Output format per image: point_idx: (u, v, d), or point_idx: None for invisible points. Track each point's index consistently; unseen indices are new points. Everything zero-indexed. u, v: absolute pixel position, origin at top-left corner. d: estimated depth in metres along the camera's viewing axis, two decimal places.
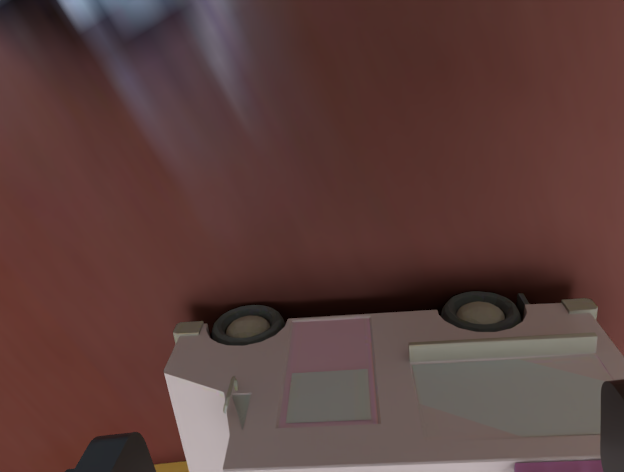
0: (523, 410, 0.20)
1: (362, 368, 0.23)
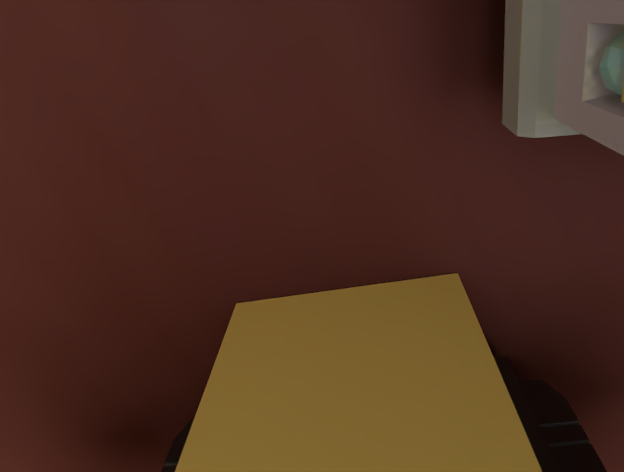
0: None
1: None
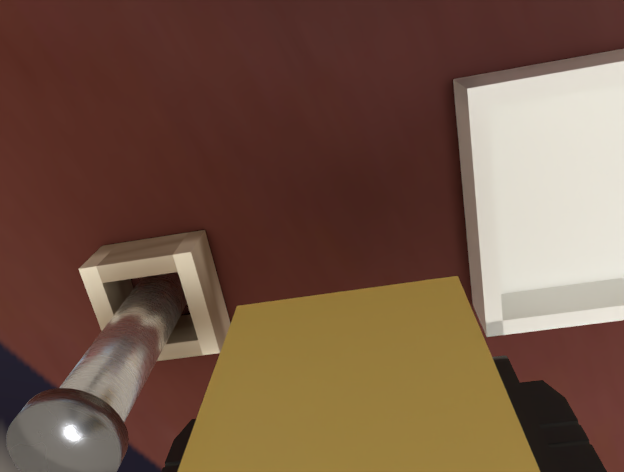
0: None
1: None
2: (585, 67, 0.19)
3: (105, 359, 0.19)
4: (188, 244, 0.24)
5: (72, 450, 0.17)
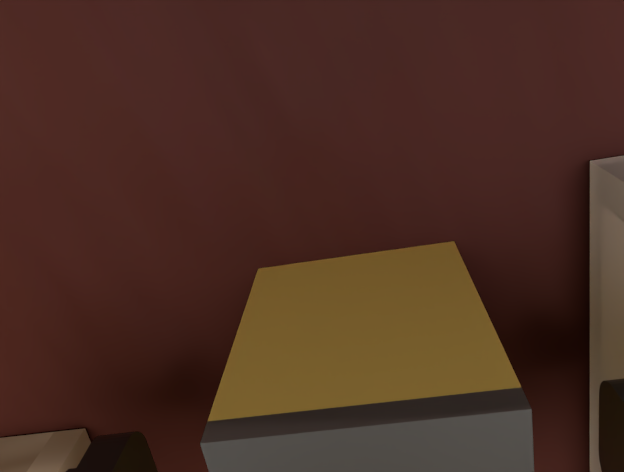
0: None
1: None
2: None
3: None
4: None
5: None
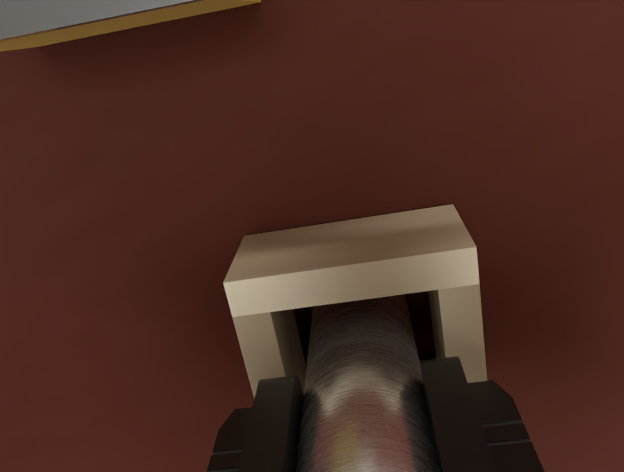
0: None
1: None
2: None
3: None
4: None
5: None
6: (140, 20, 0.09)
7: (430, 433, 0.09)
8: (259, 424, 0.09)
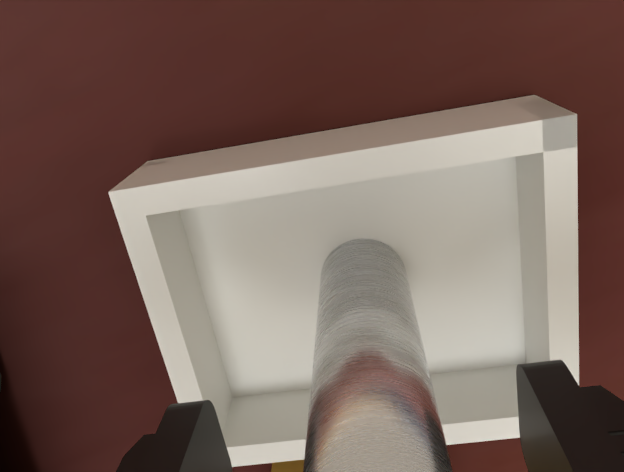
0: None
1: None
2: (161, 347, 0.15)
3: None
4: None
5: None
6: None
7: (424, 365, 0.11)
8: (157, 453, 0.09)
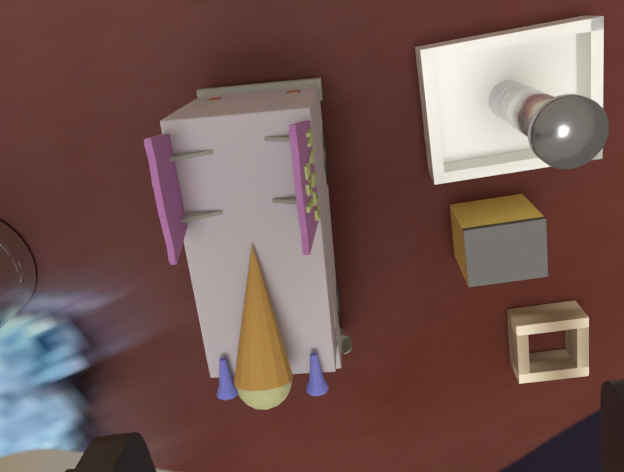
0: None
1: None
2: (427, 121, 0.35)
3: (526, 115, 0.29)
4: (512, 324, 0.41)
5: (570, 126, 0.26)
6: None
7: None
8: None
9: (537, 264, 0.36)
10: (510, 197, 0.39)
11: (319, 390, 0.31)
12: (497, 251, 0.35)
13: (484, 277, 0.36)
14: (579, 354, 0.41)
